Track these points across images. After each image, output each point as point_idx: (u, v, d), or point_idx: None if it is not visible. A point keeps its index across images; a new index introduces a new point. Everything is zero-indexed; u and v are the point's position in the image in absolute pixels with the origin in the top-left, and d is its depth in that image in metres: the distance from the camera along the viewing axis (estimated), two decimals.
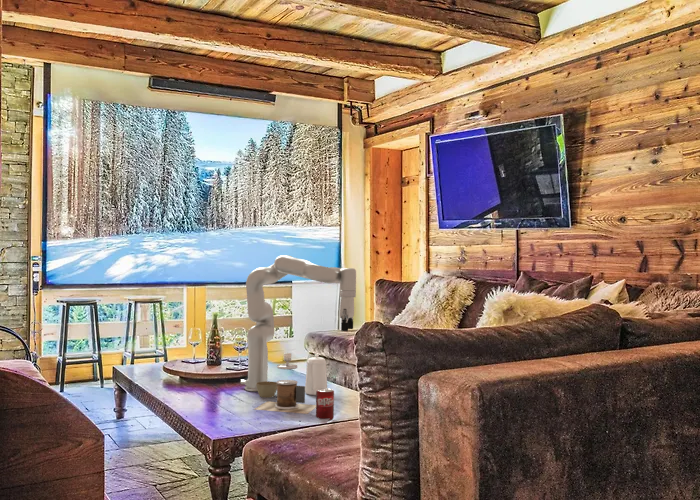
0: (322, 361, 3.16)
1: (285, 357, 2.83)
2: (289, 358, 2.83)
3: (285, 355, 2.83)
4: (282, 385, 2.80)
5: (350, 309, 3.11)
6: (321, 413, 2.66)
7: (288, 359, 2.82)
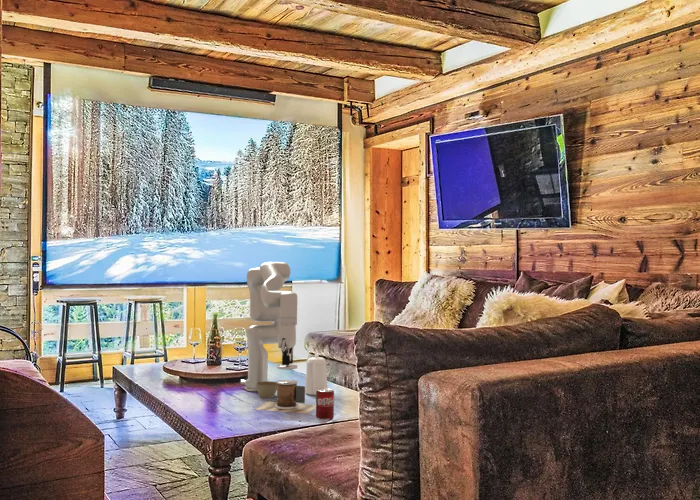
0: (322, 361, 3.16)
1: None
2: None
3: None
4: (282, 385, 2.80)
5: (290, 338, 2.80)
6: (321, 413, 2.66)
7: None
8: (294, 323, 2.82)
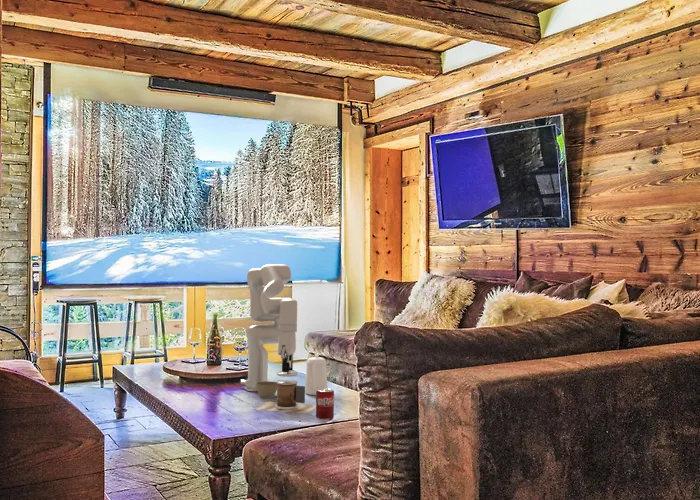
0: (322, 361, 3.16)
1: None
2: None
3: None
4: (282, 385, 2.80)
5: (290, 345, 2.80)
6: (321, 413, 2.66)
7: None
8: (294, 330, 2.82)
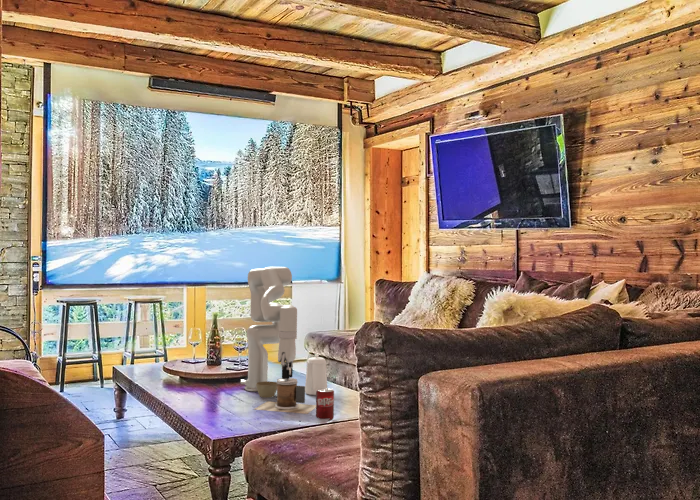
0: (322, 361, 3.16)
1: None
2: (289, 372, 2.83)
3: None
4: (282, 385, 2.80)
5: (290, 352, 2.80)
6: (321, 413, 2.66)
7: None
8: (294, 337, 2.82)
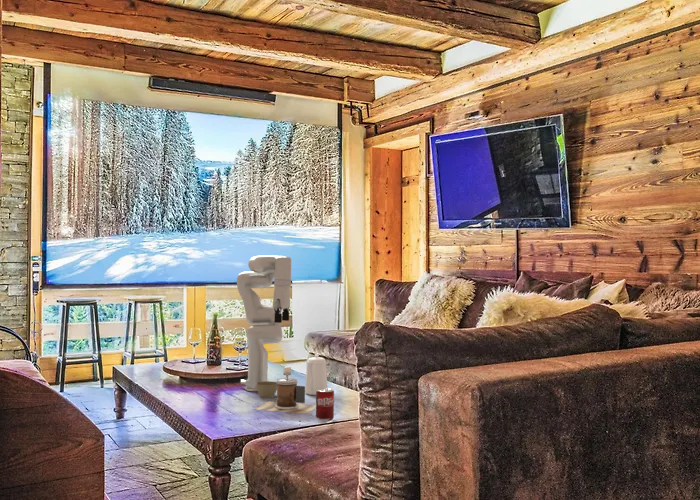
0: (322, 361, 3.16)
1: (285, 371, 2.83)
2: (289, 372, 2.83)
3: (285, 369, 2.83)
4: (282, 385, 2.80)
5: (284, 299, 2.96)
6: (321, 413, 2.66)
7: (288, 373, 2.82)
8: (288, 285, 2.97)
